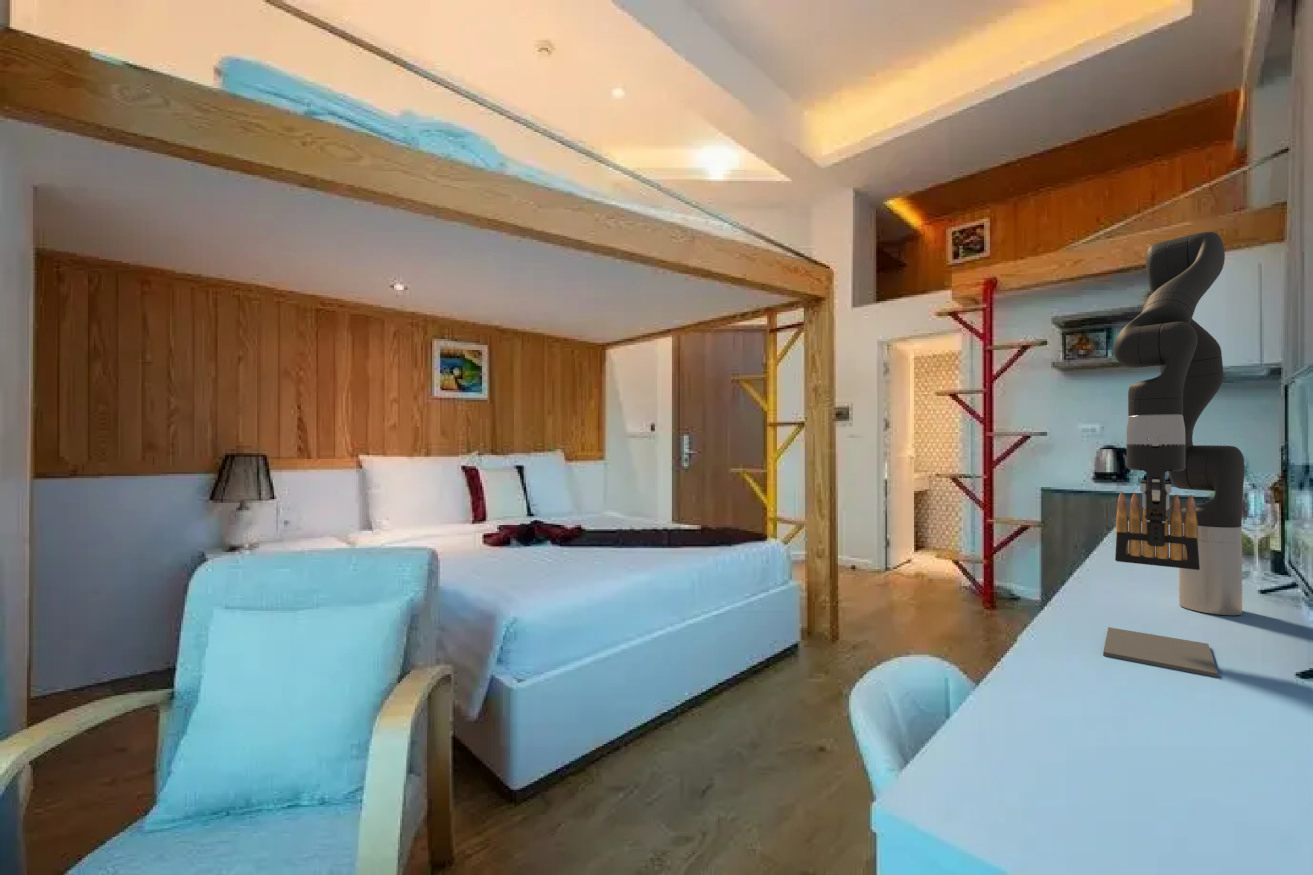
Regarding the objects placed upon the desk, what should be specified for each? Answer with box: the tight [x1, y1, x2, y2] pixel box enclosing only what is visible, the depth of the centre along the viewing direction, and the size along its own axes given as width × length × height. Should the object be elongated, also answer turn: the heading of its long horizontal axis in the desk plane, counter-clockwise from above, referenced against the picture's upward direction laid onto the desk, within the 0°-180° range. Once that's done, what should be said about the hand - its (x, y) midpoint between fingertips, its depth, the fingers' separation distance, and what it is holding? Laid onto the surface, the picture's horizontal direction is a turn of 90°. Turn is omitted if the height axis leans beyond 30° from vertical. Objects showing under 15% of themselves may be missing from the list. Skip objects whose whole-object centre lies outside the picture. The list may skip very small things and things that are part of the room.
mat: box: [1102, 626, 1219, 678], centre depth 93 cm, size 16×13×1 cm
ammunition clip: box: [1114, 491, 1200, 570], centre depth 97 cm, size 11×2×12 cm, turn 49°
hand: (1155, 544), depth 97 cm, fingers closed on ammunition clip, 2 cm apart
